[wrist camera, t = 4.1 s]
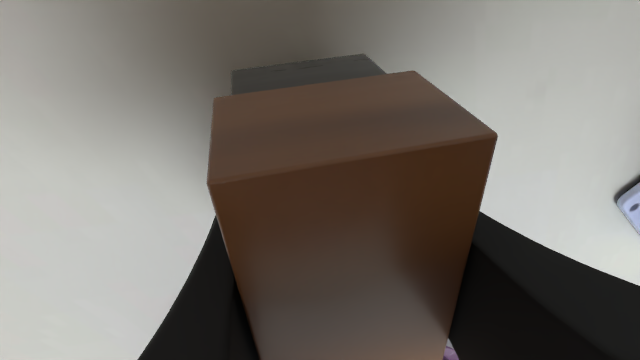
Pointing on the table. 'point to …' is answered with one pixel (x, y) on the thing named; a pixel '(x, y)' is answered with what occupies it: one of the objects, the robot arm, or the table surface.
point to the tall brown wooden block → (346, 207)
